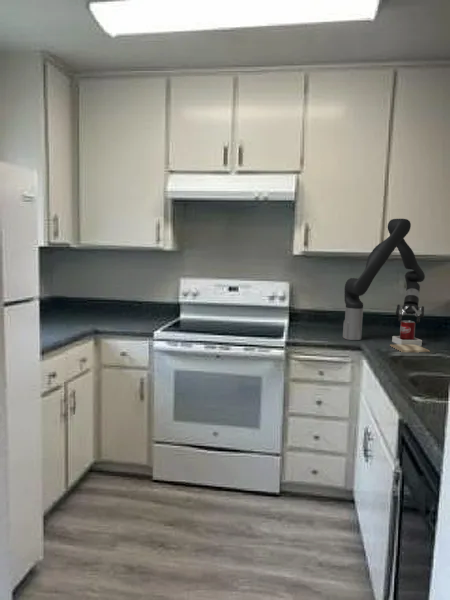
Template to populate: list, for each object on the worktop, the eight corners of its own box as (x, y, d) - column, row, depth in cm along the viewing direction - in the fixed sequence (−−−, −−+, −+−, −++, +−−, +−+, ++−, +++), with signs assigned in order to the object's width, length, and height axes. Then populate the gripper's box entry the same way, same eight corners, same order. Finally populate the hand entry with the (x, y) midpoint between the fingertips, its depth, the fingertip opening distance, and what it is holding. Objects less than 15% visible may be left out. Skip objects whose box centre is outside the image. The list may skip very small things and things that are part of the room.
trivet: (402, 352, 238) (402, 350, 238) (389, 346, 252) (390, 344, 252) (429, 352, 239) (429, 350, 239) (416, 346, 253) (416, 344, 253)
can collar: (401, 345, 253) (401, 340, 253) (392, 341, 264) (392, 336, 264) (421, 346, 254) (422, 340, 254) (411, 341, 265) (412, 336, 265)
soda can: (406, 345, 255) (407, 322, 253) (396, 342, 261) (397, 320, 260) (416, 344, 257) (418, 322, 256) (406, 342, 264) (408, 320, 263)
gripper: (398, 293, 272) (394, 316, 263) (425, 295, 266) (423, 318, 257) (398, 302, 277) (395, 324, 268) (425, 303, 272) (422, 327, 263)
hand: (408, 321), depth 263 cm, fingers open, 8 cm apart
